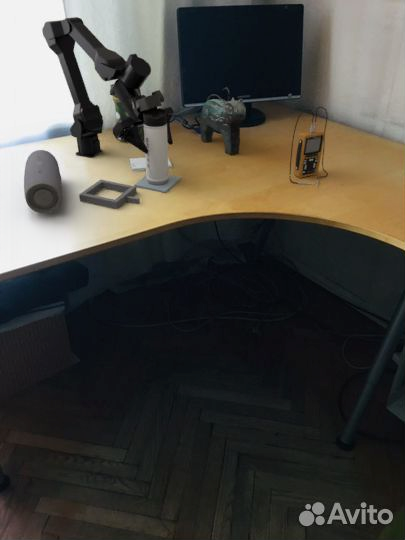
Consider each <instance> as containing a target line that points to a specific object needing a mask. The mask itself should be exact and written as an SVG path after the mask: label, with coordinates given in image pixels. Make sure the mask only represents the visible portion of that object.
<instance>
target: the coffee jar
mask: <svg viewBox="0 0 405 540" xmlns="http://www.w3.org/2000/svg"><path fill="white" fill-rule="evenodd" d="M137 90H138V92H139V94H140V95H142V93H141V87H140V88H139V89H137ZM111 98H112V101H113V102H114V106H115V107H114V109H115V124H116V123H117V122H118V120H119V119H122V118H126V117H129V116H128V114H127V113H123V112H122V109H123V106H122V104H121V102H120V101H119V99H118V97H117V96H116V94H115V95H111ZM138 132H139V135H140V136H141V138H142V139H144V125H143V126H139V127H138ZM117 140H118V141H119V142H125V143H128V142H127V141H125V140H121V138H119V139H117Z"/></svg>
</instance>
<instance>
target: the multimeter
mask: <svg viewBox="0 0 405 540" xmlns="http://www.w3.org/2000/svg"><path fill="white" fill-rule="evenodd" d="M319 109H323V110H324V112H325V114H326V116H328V112H327V109H326V108H325V107H323V106H318V107H317V108H316V112H315V115H314V112H313V111H312V110H311V109H305V110H303V111H301V112H300V114H299V116H297V120H296V123H295V126H294V129H293V134H292V135H293V136H292V142H291V148H290V149H291V151H290V161H289V162H290V163H289V174H291V173H292V172H291V170H292V168H291V167H292V156H293V148H294V147H293V146H294V138H295V133H296V130H297V129H296V128H297V125H298V122H299V119H300V117H301V115H302V114H303V113H304V112H305V111H306V112H307V111H308V112H311V114H312V120H311V125H310V130H309V131H303V132H300V133H299V134H298V135H299V136H298V142H297V148H296V156H295V164H294V165H295V166H294V171H293V174H294V176H296V177H297V178H300V179H302V178H305V177H310V176H316V175H318V173H319V170H320V169H319V168H320V164H321V165H322V170H323V171H324V172H325V173H326V175H324V176H323V175H322V178H325V177H328V172H327V171H326V170H325V169H324V155H325V146H324V145H326V144H325V137H326V129H327V124H328V123H327V122H328V117H325V118H326V119H325V124H324V131H322V130H320V129H316V124H317V123H316V122H317V117H318V110H319ZM314 117H315V118H314ZM321 159H322V161H321ZM319 178H320V176H317V177H316V183H315V185H316V187H318V185H319ZM289 181H290V182H291V183H293V184H297V185H312V183H311V182H310V183H309V182H303V181H302V182H300V181H297V182H295V181H294V182H293V181H292V179H291V177H289Z"/></svg>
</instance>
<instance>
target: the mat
mask: <svg viewBox="0 0 405 540" xmlns="http://www.w3.org/2000/svg"><path fill="white" fill-rule="evenodd" d="M168 179H169V180H168V182H167V183H165V184H163V185H152V184H150V183H148V182H147V174H146V175H145V176H143V177H142V178H141V179H139V180H138V181H137V182H136V183H134V184H133V186H135V187H136V188H139V189H143V190H148V191H149V190H150V191H153V192H158V193H159V192H160V193H165V194H167V192H169V191H170V190H171V189H172V188H173V187H174V186H175V185H176V184H178V183H179V182H180V180H181V179H182V178H181V177H180V176H174V175H169V174H168Z"/></svg>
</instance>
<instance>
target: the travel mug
mask: <svg viewBox="0 0 405 540" xmlns="http://www.w3.org/2000/svg"><path fill="white" fill-rule="evenodd" d="M143 118H144V125H143V129H144V137H143V139H144V143H145V145H146V147H147V149H148V151H149V152H148V153H147V154H145V153H144V155H145V157H144V158H146V172H145V173H146V175H147V182H148V183H150V184H152V185H163V184H165V183H167V182H168V180H169V179H168V175H169V169H168V158H169V155H168V154H169V152H168V151H169V150H168V149H169V148H168V147H169V146H168V145H169V143H168V142H167V115H166V111H164V110H162V109H159V107H154V108H151V109H148V110H145V111H144V112H143Z"/></svg>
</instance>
